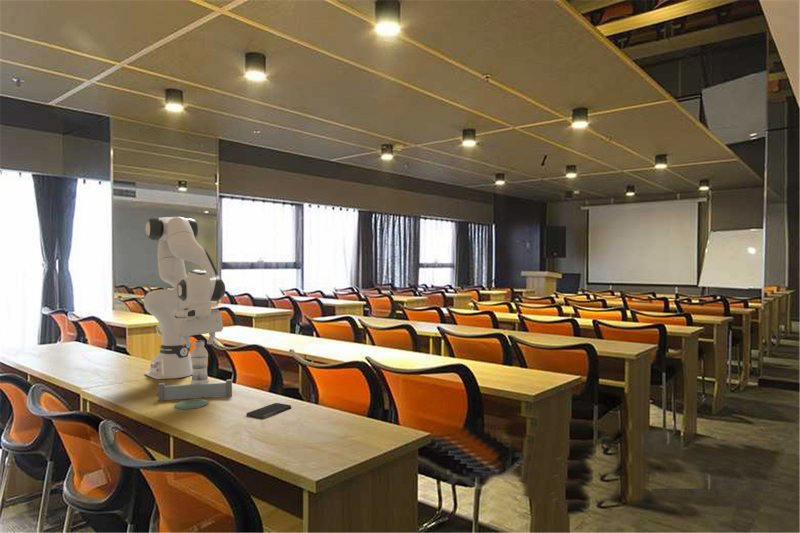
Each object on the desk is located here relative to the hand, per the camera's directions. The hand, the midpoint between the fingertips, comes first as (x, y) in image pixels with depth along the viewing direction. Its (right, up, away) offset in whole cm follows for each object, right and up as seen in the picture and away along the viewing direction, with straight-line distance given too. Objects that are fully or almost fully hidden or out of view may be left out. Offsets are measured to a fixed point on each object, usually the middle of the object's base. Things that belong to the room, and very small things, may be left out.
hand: (199, 345), depth 203 cm
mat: (+4, -18, -19) cm, 27 cm away
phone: (+34, -19, -27) cm, 48 cm away
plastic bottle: (0, -18, +1) cm, 18 cm away
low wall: (+2, -18, -9) cm, 21 cm away
